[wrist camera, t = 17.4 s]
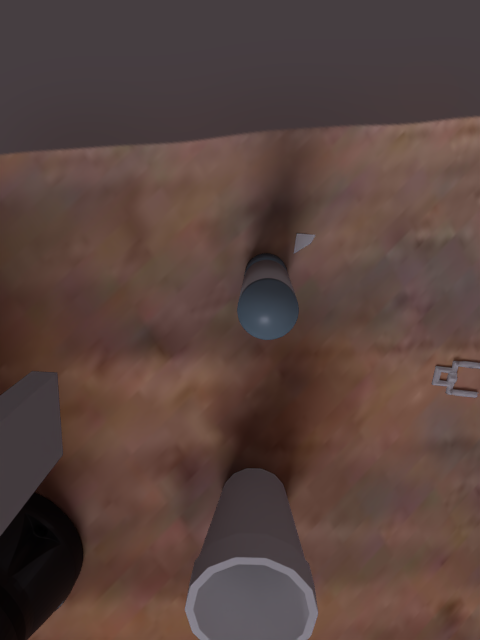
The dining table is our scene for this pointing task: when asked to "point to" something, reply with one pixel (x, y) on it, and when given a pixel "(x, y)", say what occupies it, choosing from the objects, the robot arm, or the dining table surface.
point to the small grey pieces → (306, 239)
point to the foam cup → (252, 567)
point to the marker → (267, 298)
